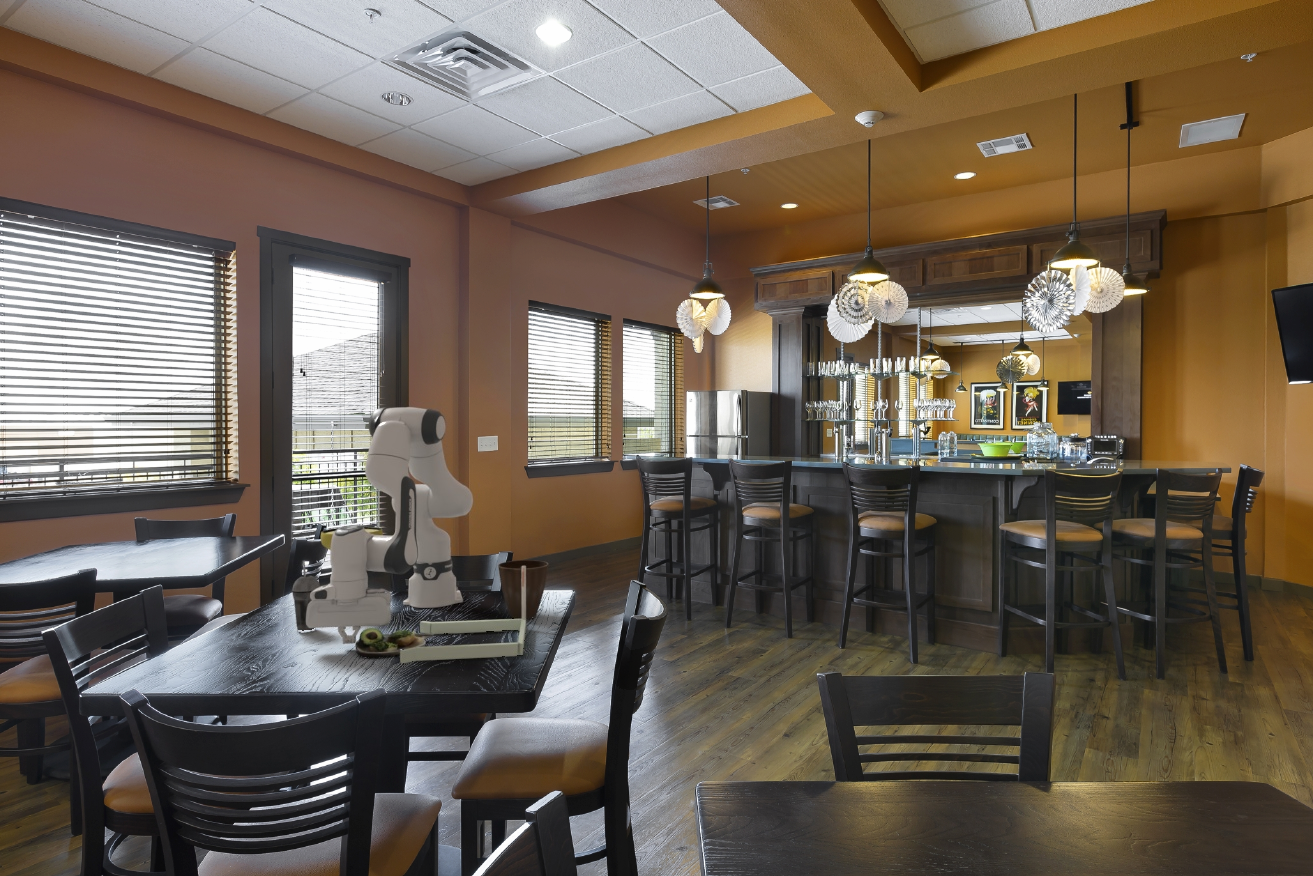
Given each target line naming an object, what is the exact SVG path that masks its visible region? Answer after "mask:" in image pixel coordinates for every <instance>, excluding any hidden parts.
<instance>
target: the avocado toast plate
mask: <svg viewBox="0 0 1313 876" xmlns="http://www.w3.org/2000/svg"><path fill="white" fill-rule="evenodd" d="M434 636H435V634H426V633H416V630H413V631H410V629H407V630H405V629H404V630H403V629H398V630H397V631H395V632H392V633H384V634H383V632H382V631H381V630H379V629H377V628H373V627H369V628H365V629H363V630H362V631H361V632H360V634H359V639H358V640H356V642H355V643H354V644H355V650H356V654H357V655H358V656H359V657H361V656H362V657H361V658H363V657H367V658H366V659H380V658H379V657H383V658H388V657H387V656H390V657H396V656H395V655H397V656H400V650H399V649H409V648H413V647H415V648H416V647H426V645H427V643H426V641H425V640H427V639H429V638H432V637H434Z"/></svg>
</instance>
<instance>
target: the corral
mask: <svg viewBox="0 0 1313 876" xmlns="http://www.w3.org/2000/svg"><path fill="white" fill-rule="evenodd" d="M502 630H518V631H519V634H518V639H517V640H518V641H516V642H501V643H499V642H498V643H480V644H479V643H476V644H455V645H437V646H436V645H435V646H433V645H432V646H429V645H428V646H424V647H416V648H415V647H413V648H409V649H404V650H400V655H399V658H400V659H399V661H400V662H399V663H400V664H403V663H404V664H407V663H412V661H413V662H419V661H437V660H438V661H439V660H440V661H441V660H456V659H457V660H458V659H462V660H463V659H478V658H479V659H482V658H500V657H502V656H505V657H518V656H517V655H524V649H523V648H525V641H524V640H526V634H525V633H527V619H526V566H522V619H512V618H506V619H505V618H504V619H481V620H478V619H476V620H457V621H456V620H453V621H428V620H427V621H425V620H422V621H419V634H434V635H444V633H445V634H446V633H448V634H465V633H467V634H469V633H471V634H472V633H487V632H486V631H494V632H503V631H502Z"/></svg>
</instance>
